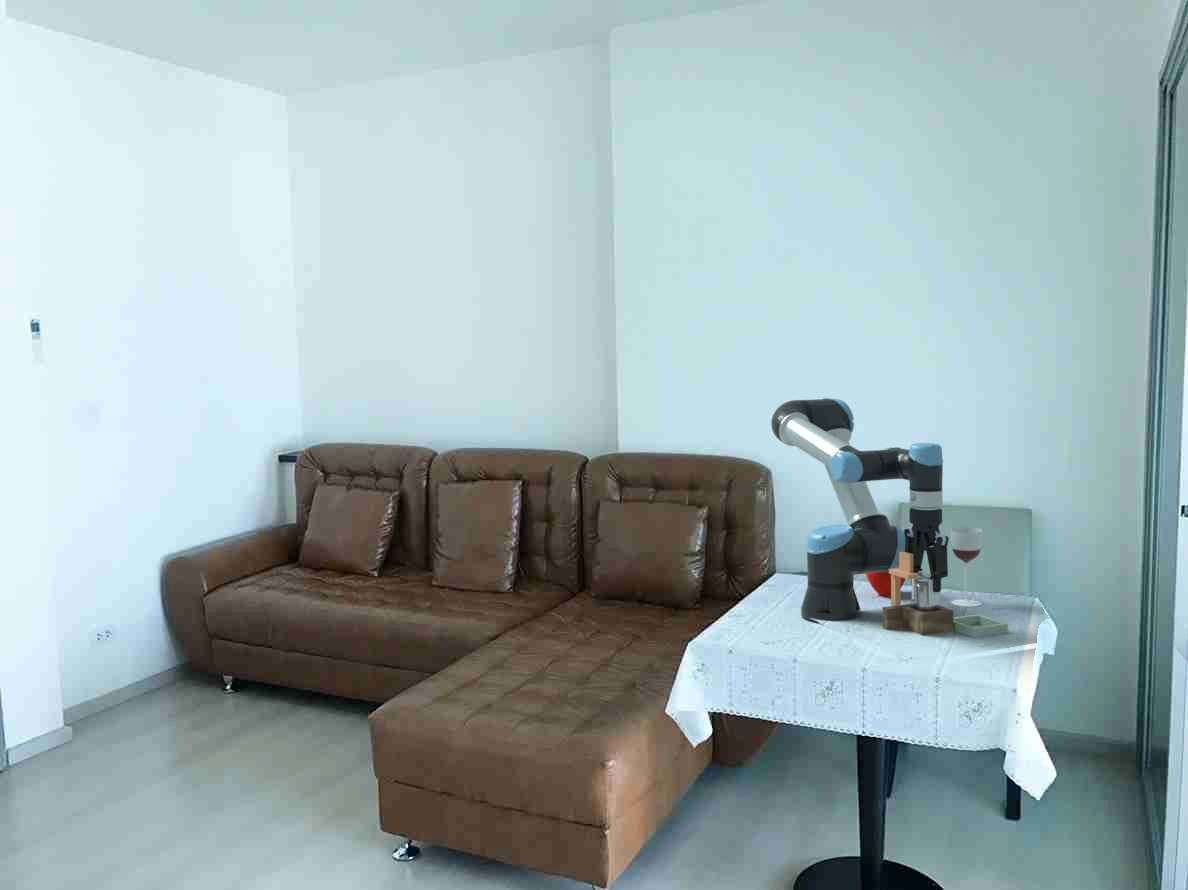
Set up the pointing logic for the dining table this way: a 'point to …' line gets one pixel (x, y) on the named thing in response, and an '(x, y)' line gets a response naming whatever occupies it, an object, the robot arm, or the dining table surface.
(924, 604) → the pin
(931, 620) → the block
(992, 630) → the dish
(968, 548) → the wineglass
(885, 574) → the apple
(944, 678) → the dining table surface
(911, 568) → the keeper
